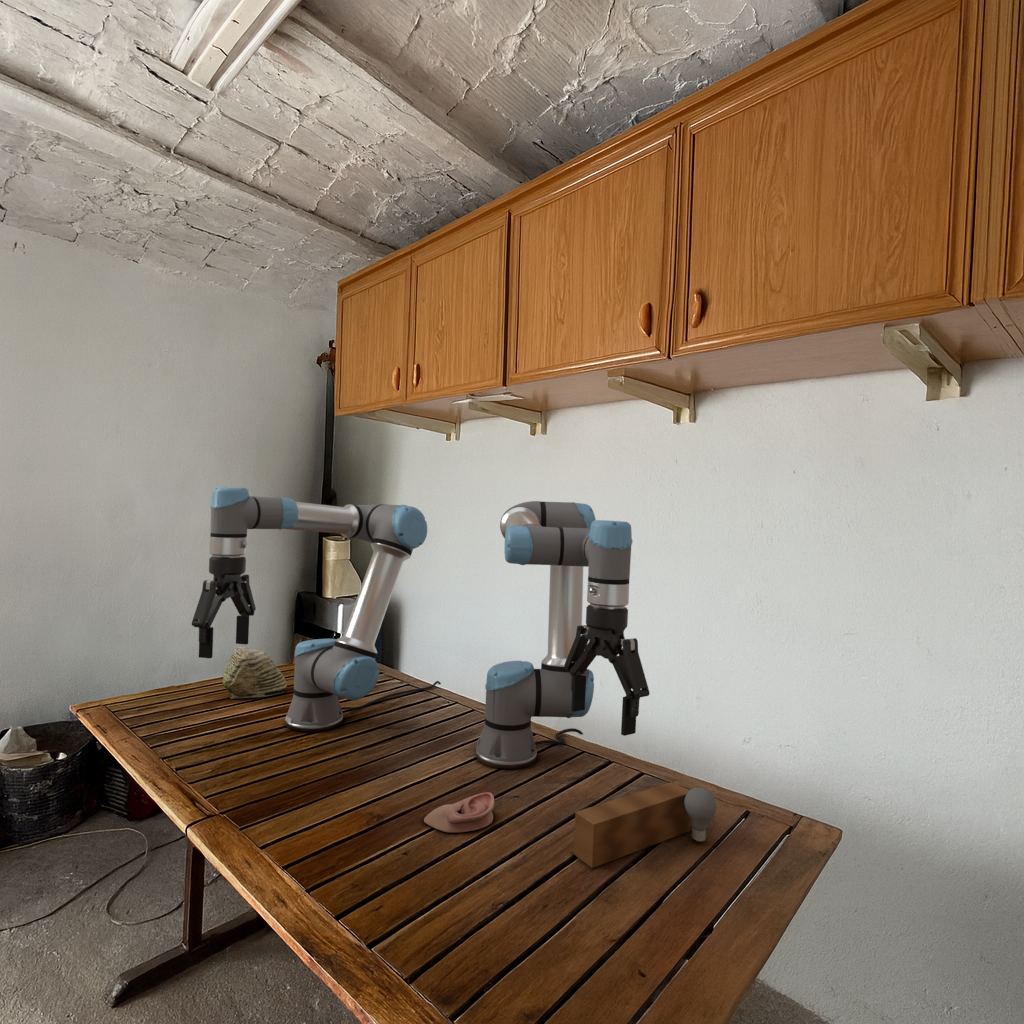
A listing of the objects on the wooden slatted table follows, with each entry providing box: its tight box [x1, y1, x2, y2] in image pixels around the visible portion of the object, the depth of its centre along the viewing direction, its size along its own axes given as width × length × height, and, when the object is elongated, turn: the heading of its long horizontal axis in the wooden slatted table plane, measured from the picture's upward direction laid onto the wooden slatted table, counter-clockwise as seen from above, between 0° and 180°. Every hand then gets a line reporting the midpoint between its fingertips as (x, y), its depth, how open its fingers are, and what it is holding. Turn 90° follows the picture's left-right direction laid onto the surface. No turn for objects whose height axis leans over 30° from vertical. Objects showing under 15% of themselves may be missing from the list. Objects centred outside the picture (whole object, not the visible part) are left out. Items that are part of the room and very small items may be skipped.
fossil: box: [222, 646, 288, 699], centre depth 198 cm, size 9×18×15 cm, turn 132°
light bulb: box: [684, 787, 718, 842], centre depth 123 cm, size 6×6×10 cm
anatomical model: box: [423, 791, 495, 834], centre depth 127 cm, size 13×4×12 cm
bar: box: [573, 781, 691, 869], centre depth 121 cm, size 26×5×8 cm, turn 124°
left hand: (224, 650), depth 142 cm, fingers open, 13 cm apart
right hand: (601, 721), depth 115 cm, fingers open, 13 cm apart
